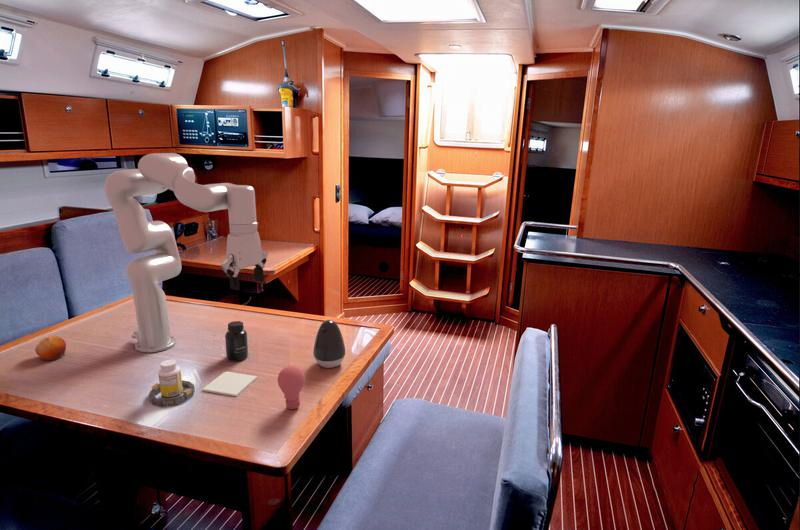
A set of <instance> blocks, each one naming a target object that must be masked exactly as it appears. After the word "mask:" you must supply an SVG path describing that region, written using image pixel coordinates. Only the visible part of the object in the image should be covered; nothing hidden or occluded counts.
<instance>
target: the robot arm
mask: <svg viewBox="0 0 800 530" xmlns="http://www.w3.org/2000/svg"><path fill="white" fill-rule="evenodd" d="M195 181H196V174H195V171H194V170H193V169H192V168H191V167H190V166H189V165H188V162H187V160H186V159H185V158H184V157H183V156H182V155H180V154H178V153H175V152H166V153H165V152H162V153H161V152H154V153H149V154H146V155H143V156H142V157H141V158H140V159H139V161H138V163H137V168H131V169H130V168H129V169H128V168H127V169H119V170H116V171H113V172H111V173H110V174H109V175H108V176H107V177H106V179H105V182H104V193H105V196H106V199H107V201H108V203H109V205H110V207H111V208H112V211H113V213H114V215H115V219H116V222H117V226H118V230H119V234H120V236H121V237H120V238H121V240H122V242H123V245H124V248H125V249H126V251H127V252H129V254H130V253H131V254H142V253H147V252H152V251H154V252H155V253H153V254H148V255H145V256H141V257H138V258H135V259H133V260H131V261H130V262H129V263H128V265H127V266H126V277H127V278H128V282H129V284H130V288H131V291H132V296H133V304H134V310H135V316H136V324H137V329H135V330H134V331H133V334H131V336H130V337H131V339H135V340H136V343H135V345H134V349H135V350H136V351H137V352H140V353H145V352H146V353H145V354H147V353H157V352H162V351H165V350H168V349H170V348H172V347H173V346H175V344H176V342H177V339H176V337H175V336H173V335H171V331H170V320H169V314H168V304H167V296H166V293H165V291H164V290H163V289H162V288H161V286H160V285H159V283H161V282H164V281H167V280H169V279H173V278H175V277H177V276H179V274H180V273H181V271H182V260H181V257H180V253H179V250H178V249H179V248H178V246H177V241H176V238H175V234H174V232H173V230H172V228H171V227H170V225H168V224H167V223H166V222H164V221H162V220H153V221H149V220H148V218H147V214H146V211H145V209H144V207H143V206H142V205H141V203H140V202H139V201H138V200H137V199H135V198H134V197H140V196H149V195H158V194H161V193H163V192H166V191H167V190H170V191H173V193H174V196H175V197H176V199H177V200H178V201H179V202H180V203H181V204H183V206H186V207H188V208H190V209H193V210H195V211H198V212H203V213H209V212H215V211H220V210H228V224H229V233H228V234H227V240H226V252H225V253H226V259H224V260H223V262H222V263H221V264H220V267H221V269H222V270H223V273H225V274H226V276H228V278H229V288H230V290H234V291H235V290H236V291H239V290H240V289H241V288H240V277H239V272H240V270H242V269H246V268H250V267H253V273H254V274H253V275H254V280H255V281H258V282H264V281H265V278H264V269H265V267H266V265H265V264H266V262H267V258H268V254H269V253H268V251H265V250H263V249H262V242H261V237H260V234H259V232H258V226H259V223H258V222H257V207H256V193H255V192H256V191H255V188H254V187H253V186H251V185H247V184H245V185H244V184H243V185H242V184H234V183H231V182H221V183H208V184H199V183H196V182H195Z"/></svg>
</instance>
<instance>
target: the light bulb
mask: <svg viewBox="0 0 800 530" xmlns="http://www.w3.org/2000/svg"><path fill="white" fill-rule="evenodd" d="M305 382H306V378H305V373H304V371H303V370H302V369H301V368H300V367H298V366H296V365H288V366H286V367H283V368H282V369H281V370H280V372H279V373H278V376H277V384H278V385H277V386H278V387H279V389H280V390H281V392H282V393H283V394H284V395H283V396H284V399H285V407H286V408H287V409H291V410H294V409H297V408H299V407H300V406H301V399H300V396H301V395H300V392H301V390H302V389H303V387H304V384H305Z"/></svg>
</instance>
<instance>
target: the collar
mask: <svg viewBox="0 0 800 530" xmlns="http://www.w3.org/2000/svg"><path fill="white" fill-rule="evenodd" d="M182 387H183V389H185V390H183V394H182V395H181V396H179V397H177V398H174V399H166V400H165V399H163V398H157V397H156V396H157V395H159V394H161V390H160V382H159V383H155V384H154V385H152V386H151V390H150V392H149V394H147V395H148V396H147V397H148V403H150V404H151V405H152V406H154V407H160V408H166V407H174V406H178V405H181V404H183V403H185V402H187V401H188V400H190V399H191V398H193V397H194V395H195V391H196V388H195V385H194V384H193V383H192V382H191V381H187V380H182Z"/></svg>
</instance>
